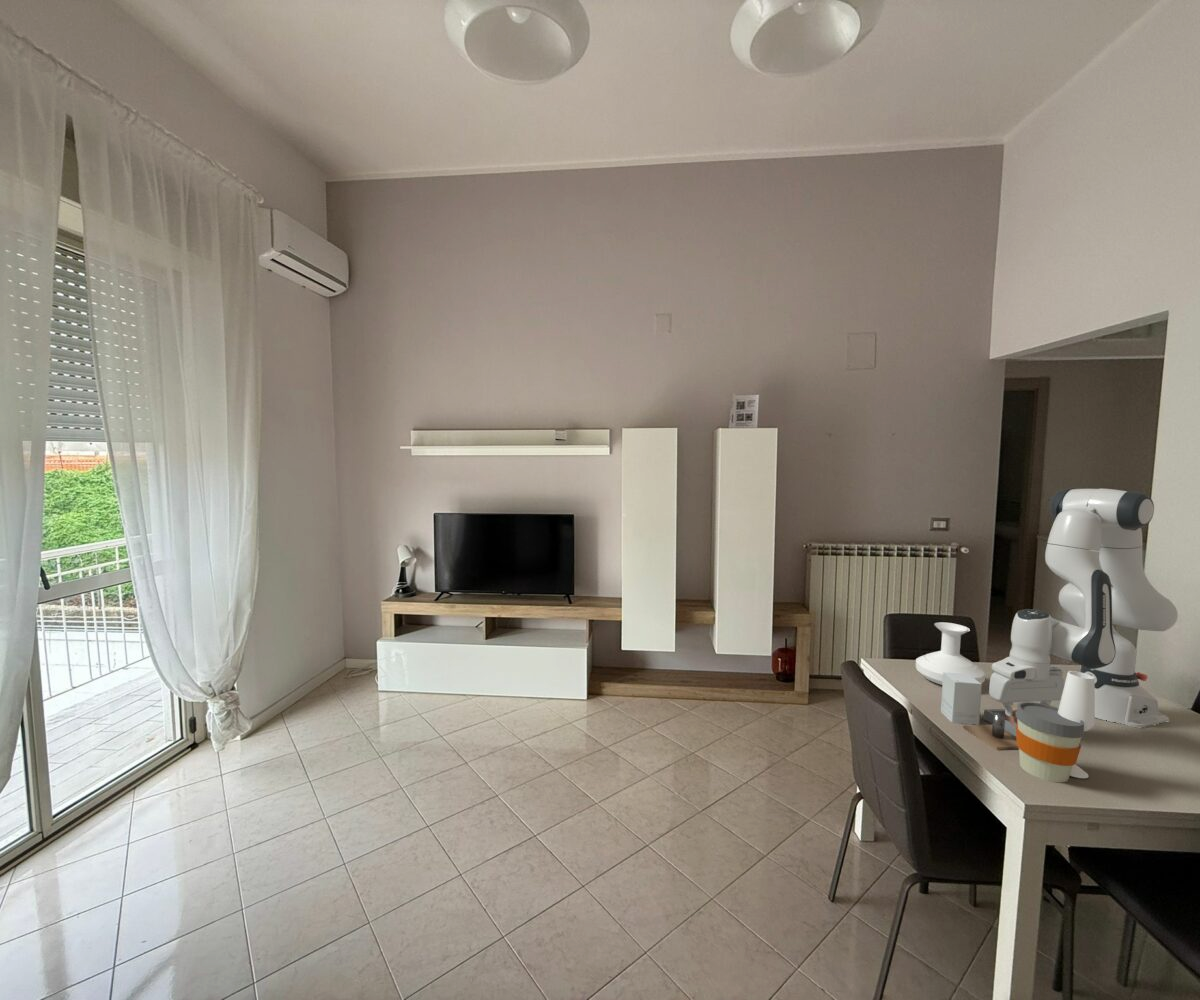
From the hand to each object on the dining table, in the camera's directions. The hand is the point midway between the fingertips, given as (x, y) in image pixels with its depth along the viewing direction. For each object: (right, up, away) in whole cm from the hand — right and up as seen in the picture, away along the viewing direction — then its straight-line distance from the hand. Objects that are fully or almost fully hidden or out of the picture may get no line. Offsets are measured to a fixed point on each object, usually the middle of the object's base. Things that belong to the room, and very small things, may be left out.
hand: (1025, 714), depth 144 cm
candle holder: (+1, -2, +33) cm, 33 cm away
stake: (-12, -4, -5) cm, 13 cm away
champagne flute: (-5, -6, -20) cm, 21 cm away
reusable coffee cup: (-12, -6, -20) cm, 24 cm away
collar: (0, -4, +1) cm, 4 cm away
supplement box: (-14, -4, +7) cm, 16 cm away
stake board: (-12, -5, -5) cm, 14 cm away
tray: (0, -5, +1) cm, 5 cm away
